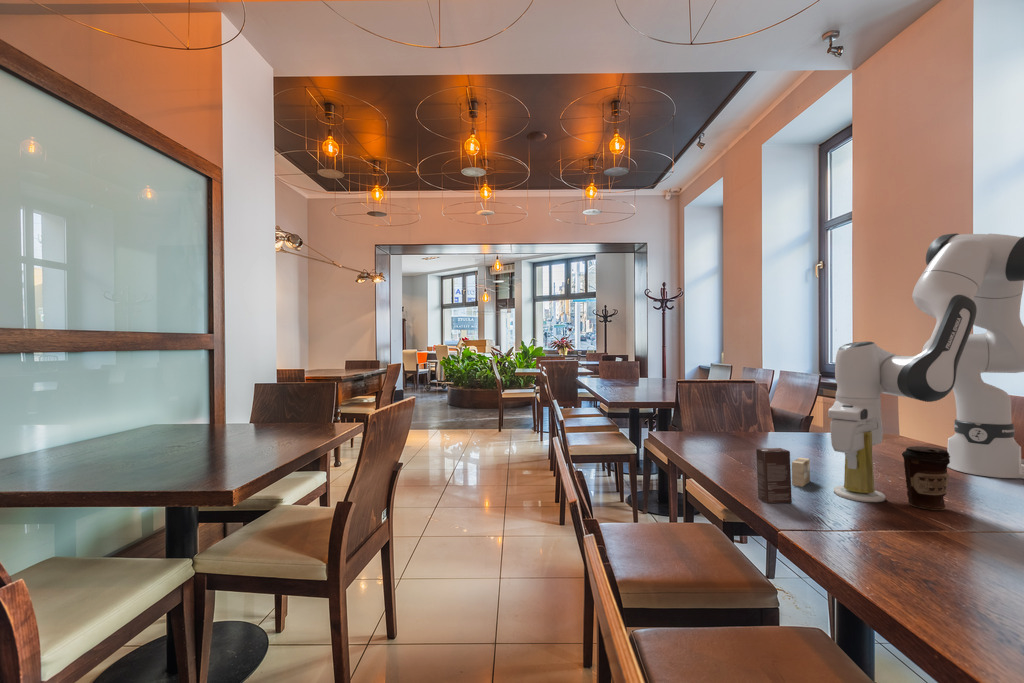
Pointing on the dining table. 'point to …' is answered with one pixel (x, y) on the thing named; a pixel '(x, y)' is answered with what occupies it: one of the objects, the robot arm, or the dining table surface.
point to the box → (774, 475)
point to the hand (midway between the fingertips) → (858, 466)
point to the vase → (861, 469)
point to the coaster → (859, 495)
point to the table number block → (800, 471)
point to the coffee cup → (926, 476)
